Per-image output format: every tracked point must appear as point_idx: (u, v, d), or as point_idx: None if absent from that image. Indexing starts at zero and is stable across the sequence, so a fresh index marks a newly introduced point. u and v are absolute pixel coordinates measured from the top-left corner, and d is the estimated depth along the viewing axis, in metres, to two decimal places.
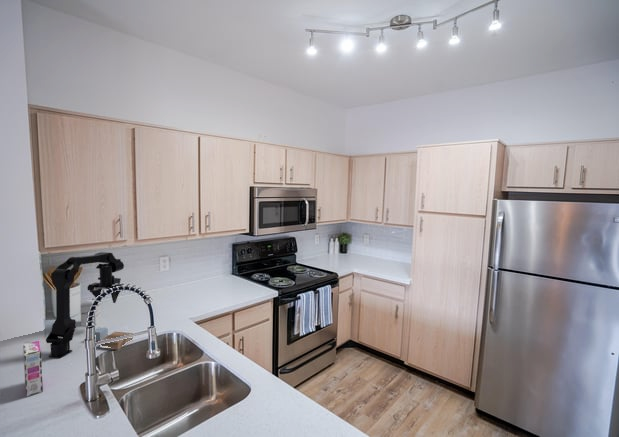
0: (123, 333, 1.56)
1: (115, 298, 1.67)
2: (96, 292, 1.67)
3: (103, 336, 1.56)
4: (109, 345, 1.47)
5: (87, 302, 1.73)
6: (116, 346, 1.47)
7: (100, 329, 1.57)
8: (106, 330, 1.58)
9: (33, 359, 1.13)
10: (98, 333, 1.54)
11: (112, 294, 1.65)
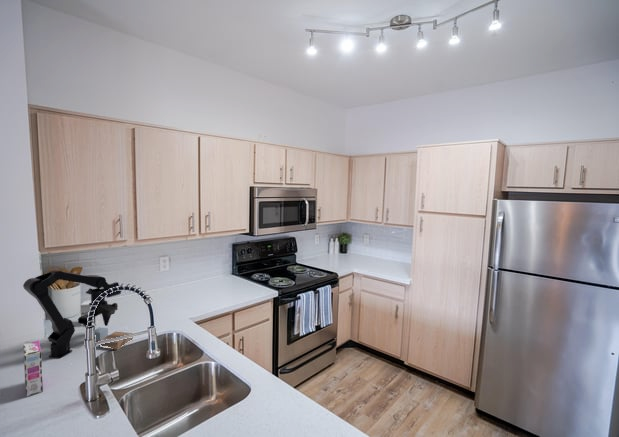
0: (123, 333, 1.56)
1: None
2: (104, 314, 1.61)
3: (103, 336, 1.56)
4: (109, 345, 1.47)
5: (87, 302, 1.73)
6: (115, 346, 1.47)
7: (100, 329, 1.57)
8: (106, 330, 1.58)
9: (33, 358, 1.13)
10: (98, 333, 1.54)
11: None
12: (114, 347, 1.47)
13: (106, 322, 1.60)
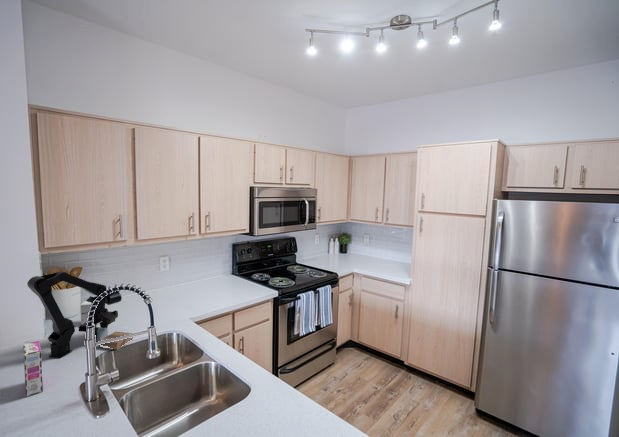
0: (123, 333, 1.56)
1: None
2: (101, 323, 1.59)
3: (103, 336, 1.56)
4: (109, 345, 1.47)
5: (87, 302, 1.73)
6: (115, 346, 1.47)
7: (100, 329, 1.57)
8: (106, 330, 1.58)
9: (33, 359, 1.13)
10: (98, 333, 1.54)
11: None
12: (114, 347, 1.47)
13: None
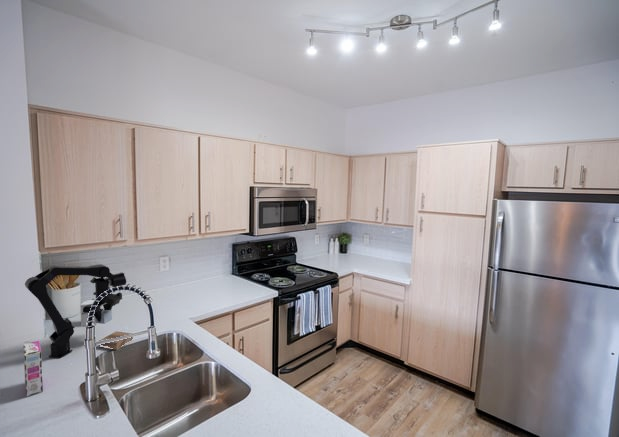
0: (123, 333, 1.56)
1: (97, 317, 1.51)
2: (105, 306, 1.57)
3: (107, 318, 1.54)
4: (108, 345, 1.47)
5: (87, 302, 1.73)
6: (114, 346, 1.46)
7: (104, 311, 1.55)
8: (110, 312, 1.56)
9: (33, 358, 1.13)
10: (102, 315, 1.52)
11: None
12: (113, 347, 1.47)
13: None
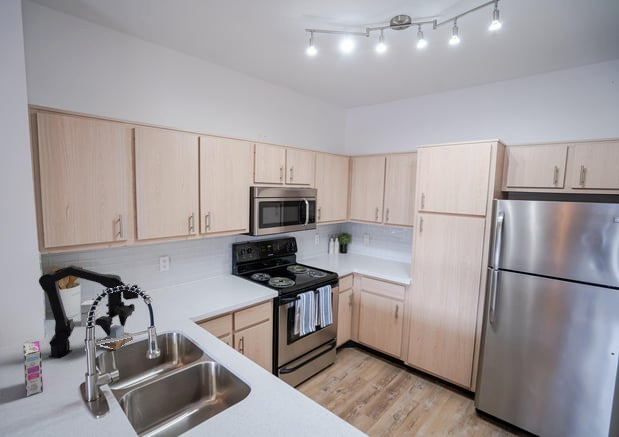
0: (124, 333, 1.55)
1: (106, 331, 1.46)
2: (120, 316, 1.56)
3: (119, 334, 1.51)
4: (108, 345, 1.47)
5: (87, 302, 1.73)
6: (114, 346, 1.46)
7: (116, 327, 1.52)
8: (122, 328, 1.53)
9: (33, 358, 1.13)
10: (114, 331, 1.49)
11: None
12: (113, 347, 1.47)
13: (123, 324, 1.56)
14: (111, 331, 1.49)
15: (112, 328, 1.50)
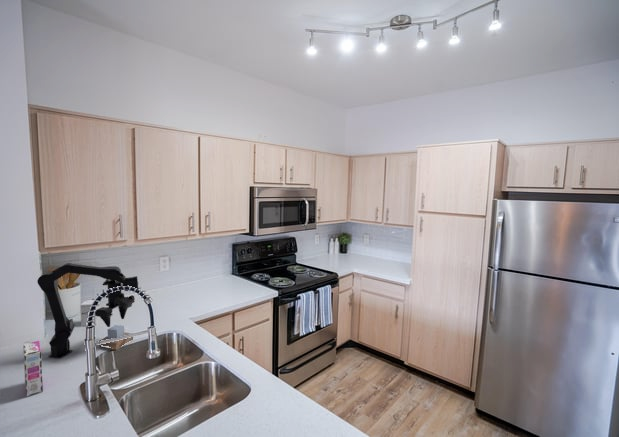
0: (124, 333, 1.56)
1: (106, 322, 1.46)
2: (120, 307, 1.56)
3: (120, 334, 1.51)
4: (108, 345, 1.47)
5: (87, 302, 1.73)
6: (114, 346, 1.46)
7: (117, 327, 1.52)
8: (123, 328, 1.53)
9: (33, 358, 1.13)
10: (115, 331, 1.49)
11: None
12: (113, 347, 1.47)
13: (123, 315, 1.56)
14: (112, 331, 1.49)
15: (113, 328, 1.50)
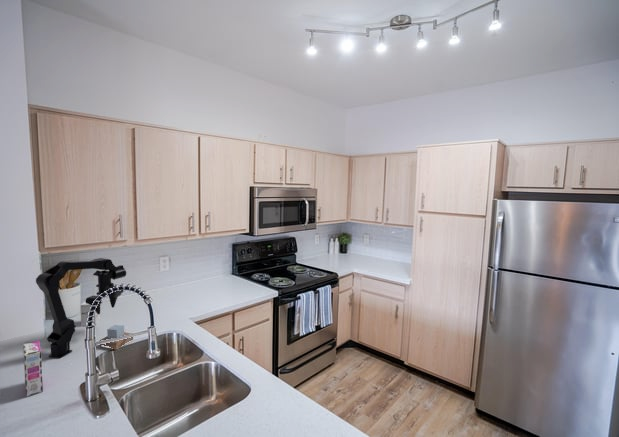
0: (124, 333, 1.56)
1: (96, 309, 1.55)
2: (110, 296, 1.65)
3: (120, 334, 1.51)
4: (108, 345, 1.47)
5: None
6: (114, 346, 1.47)
7: (116, 327, 1.52)
8: (122, 327, 1.53)
9: (33, 359, 1.13)
10: (115, 330, 1.49)
11: None
12: (113, 347, 1.47)
13: (113, 304, 1.65)
14: (112, 331, 1.49)
15: (112, 328, 1.50)
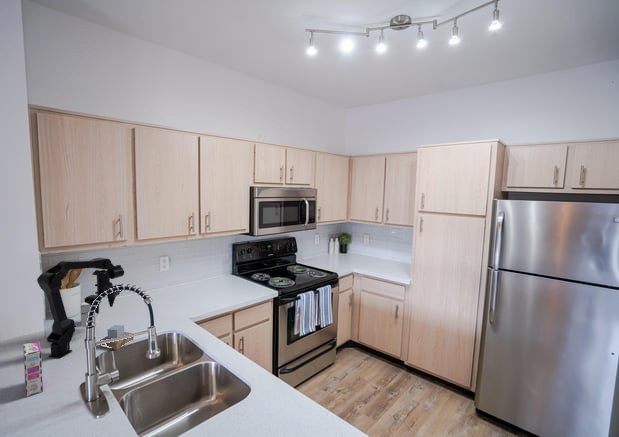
0: (124, 333, 1.56)
1: None
2: (109, 296, 1.66)
3: (120, 334, 1.51)
4: (109, 345, 1.48)
5: None
6: (115, 346, 1.47)
7: (117, 327, 1.52)
8: (123, 327, 1.53)
9: (33, 359, 1.13)
10: (115, 331, 1.49)
11: None
12: (113, 347, 1.47)
13: (111, 303, 1.66)
14: (112, 331, 1.49)
15: (113, 328, 1.50)
